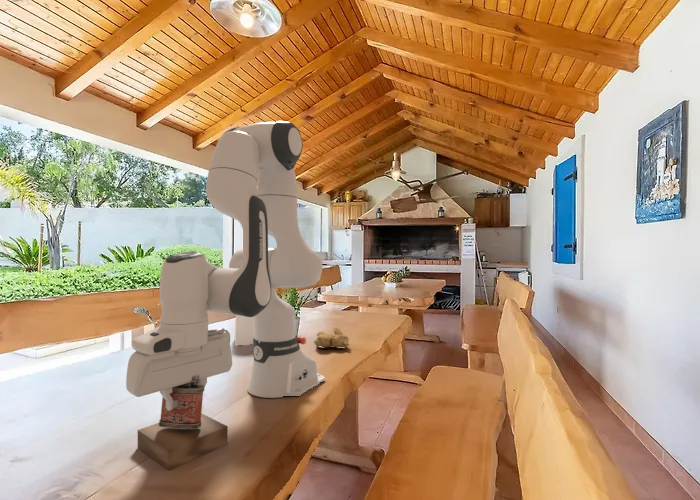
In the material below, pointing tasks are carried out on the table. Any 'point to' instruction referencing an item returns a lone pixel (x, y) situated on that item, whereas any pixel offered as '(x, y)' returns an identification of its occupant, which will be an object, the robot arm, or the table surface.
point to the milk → (244, 330)
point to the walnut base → (181, 442)
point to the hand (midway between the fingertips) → (183, 404)
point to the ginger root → (332, 339)
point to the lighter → (184, 407)
